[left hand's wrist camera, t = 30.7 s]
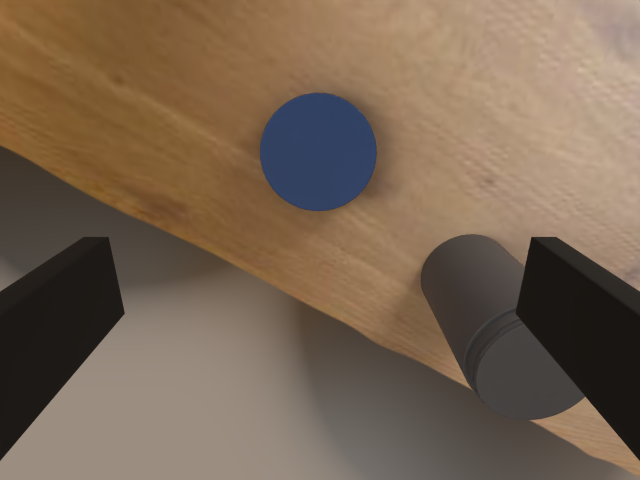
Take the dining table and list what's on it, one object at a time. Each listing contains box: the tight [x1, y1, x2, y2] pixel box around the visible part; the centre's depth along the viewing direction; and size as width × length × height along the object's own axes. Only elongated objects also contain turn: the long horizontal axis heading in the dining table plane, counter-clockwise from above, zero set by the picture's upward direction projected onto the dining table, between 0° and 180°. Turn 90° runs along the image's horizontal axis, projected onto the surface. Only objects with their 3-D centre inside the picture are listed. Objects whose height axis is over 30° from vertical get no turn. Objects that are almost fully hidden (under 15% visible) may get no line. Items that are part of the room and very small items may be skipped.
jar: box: [421, 235, 585, 420], centre depth 34 cm, size 9×9×15 cm
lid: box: [260, 93, 376, 211], centre depth 35 cm, size 10×10×2 cm
